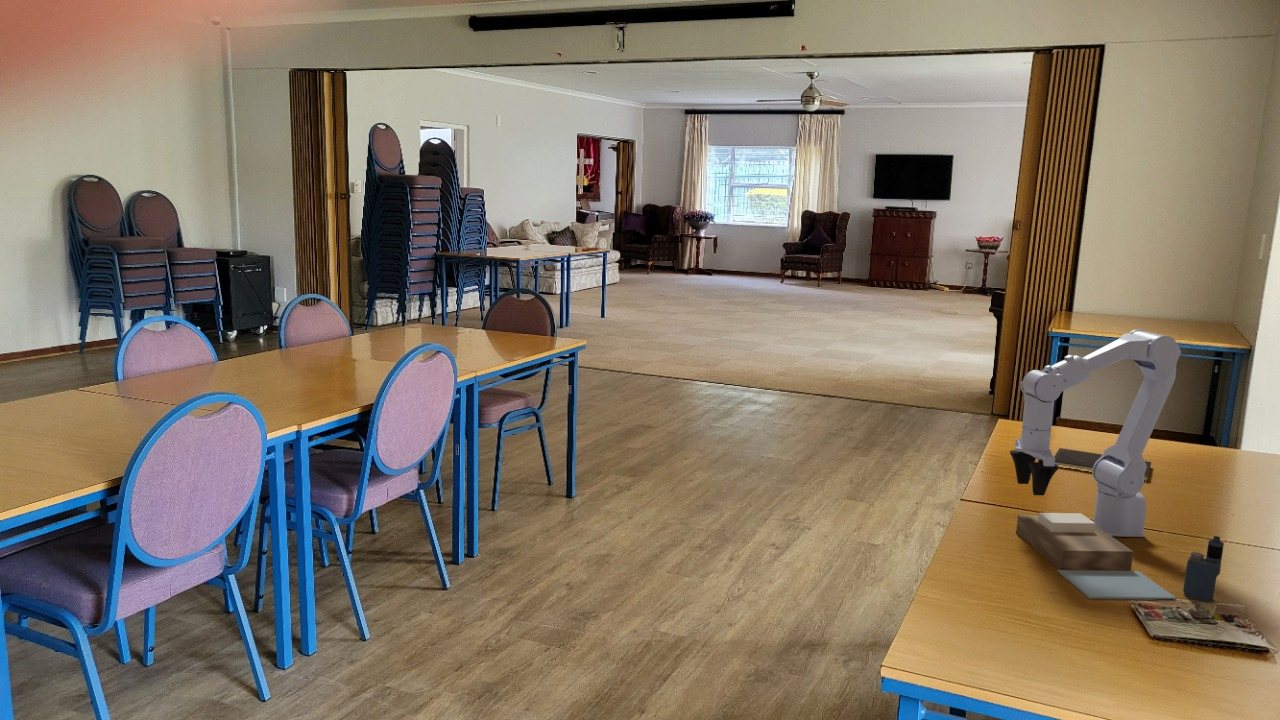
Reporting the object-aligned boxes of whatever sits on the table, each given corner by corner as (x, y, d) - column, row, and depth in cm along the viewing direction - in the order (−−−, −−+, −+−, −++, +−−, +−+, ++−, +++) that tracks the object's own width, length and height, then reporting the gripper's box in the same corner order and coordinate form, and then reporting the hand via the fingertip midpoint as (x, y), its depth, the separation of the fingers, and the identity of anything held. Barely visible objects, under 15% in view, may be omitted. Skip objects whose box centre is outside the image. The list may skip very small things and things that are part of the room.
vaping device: (1215, 603, 170) (1225, 540, 167) (1182, 596, 172) (1191, 534, 170) (1215, 598, 172) (1225, 536, 170) (1182, 591, 174) (1191, 530, 172)
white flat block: (1079, 522, 198) (1080, 513, 198) (1094, 532, 192) (1095, 523, 192) (1037, 521, 198) (1038, 512, 198) (1051, 532, 192) (1052, 522, 192)
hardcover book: (1147, 484, 242) (1148, 475, 242) (1050, 468, 254) (1051, 460, 253) (1150, 469, 256) (1151, 461, 255) (1058, 455, 267) (1059, 447, 267)
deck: (1079, 533, 203) (1081, 516, 202) (1130, 570, 183) (1133, 551, 183) (1016, 532, 202) (1018, 515, 202) (1060, 570, 183) (1062, 550, 182)
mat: (1138, 573, 183) (1138, 571, 182) (1175, 599, 171) (1176, 597, 171) (1058, 572, 182) (1058, 570, 182) (1089, 598, 170) (1089, 596, 170)
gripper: (1003, 418, 206) (998, 478, 208) (1033, 436, 191) (1027, 500, 194) (1035, 419, 206) (1029, 478, 208) (1067, 436, 192) (1060, 500, 194)
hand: (1030, 489), depth 201 cm, fingers open, 7 cm apart
